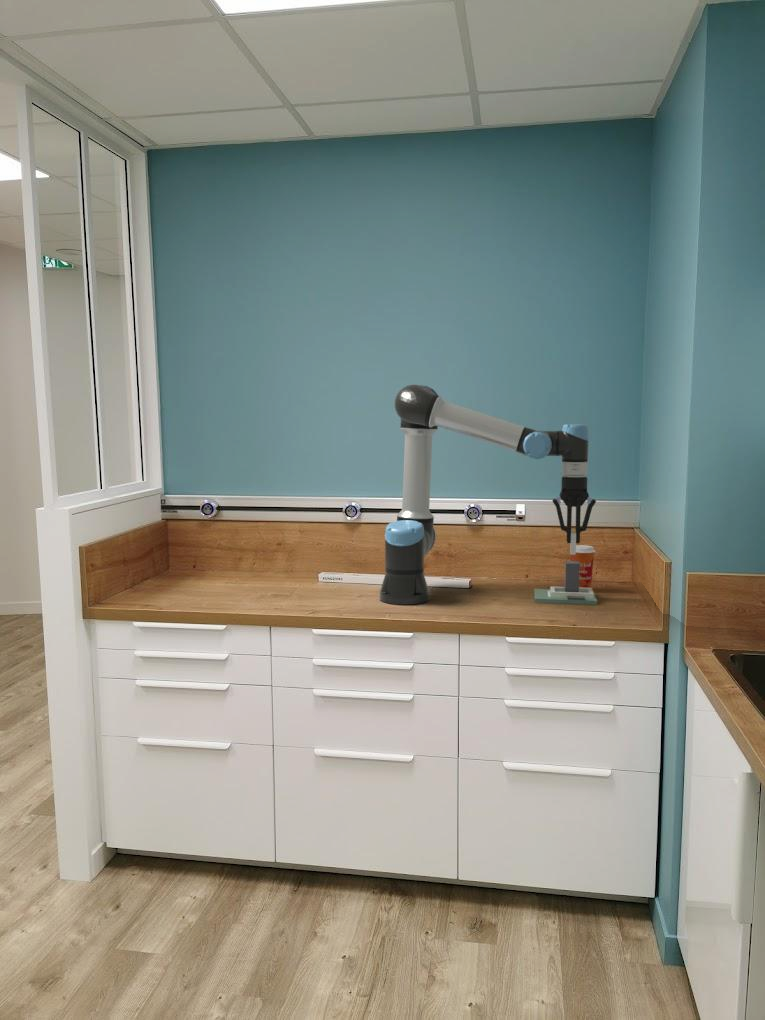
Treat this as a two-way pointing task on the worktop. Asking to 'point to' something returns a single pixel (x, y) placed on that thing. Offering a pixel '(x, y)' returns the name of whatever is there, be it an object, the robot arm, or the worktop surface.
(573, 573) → the plug
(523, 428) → the robot arm
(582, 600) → the board
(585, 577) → the paper cup
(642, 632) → the worktop surface
